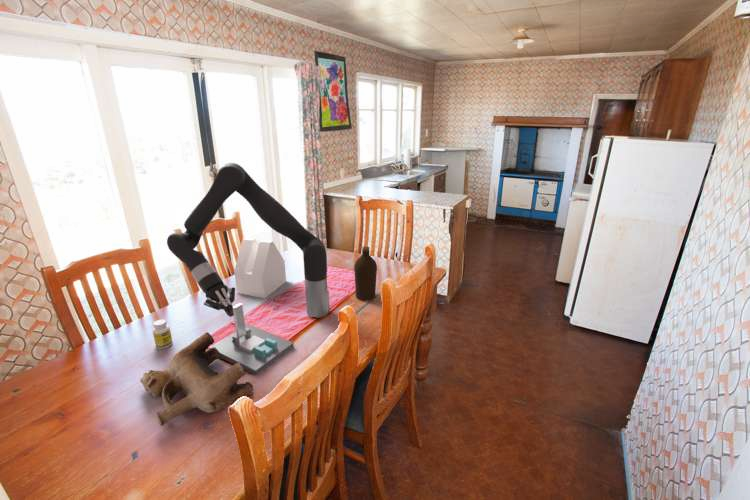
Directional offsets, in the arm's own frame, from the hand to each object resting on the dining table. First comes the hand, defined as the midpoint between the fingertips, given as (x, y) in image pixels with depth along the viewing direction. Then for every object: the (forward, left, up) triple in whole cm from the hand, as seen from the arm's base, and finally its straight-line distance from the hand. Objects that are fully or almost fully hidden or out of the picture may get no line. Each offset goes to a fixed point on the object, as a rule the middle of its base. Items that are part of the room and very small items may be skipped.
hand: (233, 315), depth 131 cm
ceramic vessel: (+24, +10, -12) cm, 29 cm away
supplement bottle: (+15, -22, -12) cm, 29 cm away
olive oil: (-57, +22, -12) cm, 62 cm away
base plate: (0, +8, -12) cm, 14 cm away
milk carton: (-38, -27, -12) cm, 48 cm away
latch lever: (0, +3, -8) cm, 9 cm away
